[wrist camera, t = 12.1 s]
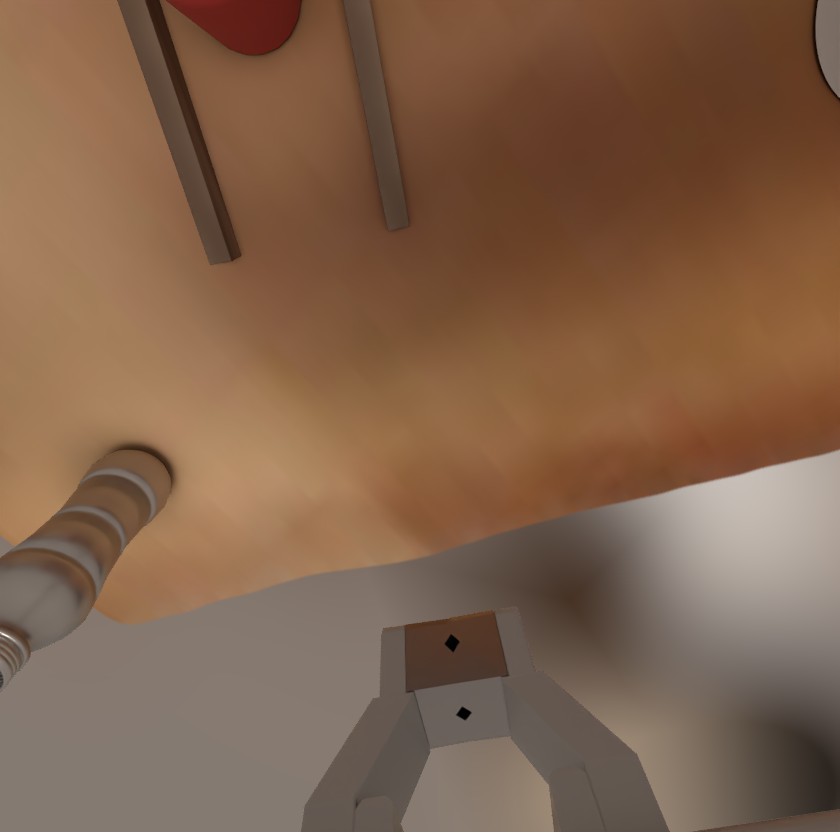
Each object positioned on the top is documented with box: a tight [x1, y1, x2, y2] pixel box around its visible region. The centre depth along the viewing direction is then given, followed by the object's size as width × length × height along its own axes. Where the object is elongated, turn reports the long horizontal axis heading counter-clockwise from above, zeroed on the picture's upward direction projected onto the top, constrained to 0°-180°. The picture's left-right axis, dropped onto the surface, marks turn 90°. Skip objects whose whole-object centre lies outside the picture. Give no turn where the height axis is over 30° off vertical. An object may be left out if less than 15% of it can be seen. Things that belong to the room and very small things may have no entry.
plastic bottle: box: [0, 450, 171, 692], centre depth 35 cm, size 6×7×20 cm
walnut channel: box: [117, 0, 409, 265], centre depth 31 cm, size 14×22×2 cm, turn 10°
